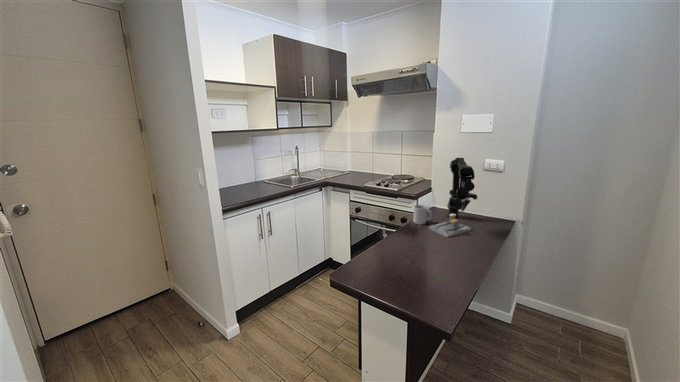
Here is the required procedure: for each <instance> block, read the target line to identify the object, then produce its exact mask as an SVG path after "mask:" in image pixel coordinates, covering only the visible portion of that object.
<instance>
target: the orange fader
mask: <svg viewBox="0 0 680 382" xmlns="http://www.w3.org/2000/svg"><path fill="white" fill-rule="evenodd" d="M457 223H459V220H458V219H457V218H455V219H453V220H451V229H457Z"/></svg>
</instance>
